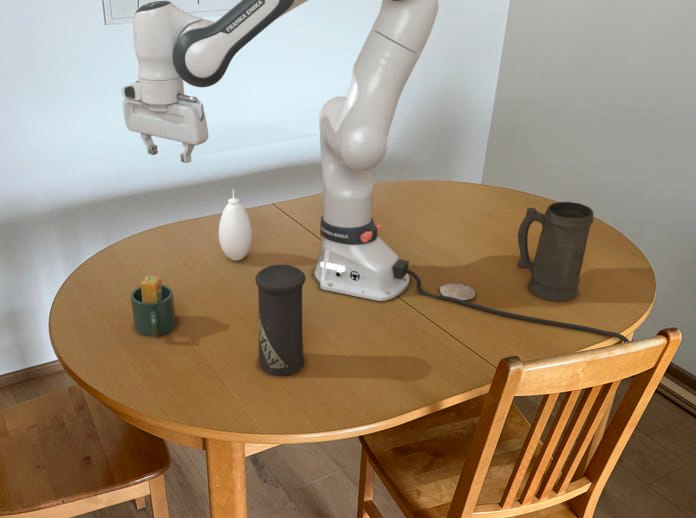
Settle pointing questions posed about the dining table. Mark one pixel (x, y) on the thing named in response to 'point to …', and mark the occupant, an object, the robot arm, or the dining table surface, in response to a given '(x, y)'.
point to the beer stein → (556, 249)
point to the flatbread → (458, 291)
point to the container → (280, 319)
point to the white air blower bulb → (235, 230)
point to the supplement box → (151, 289)
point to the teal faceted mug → (154, 313)
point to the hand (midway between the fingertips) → (169, 157)
